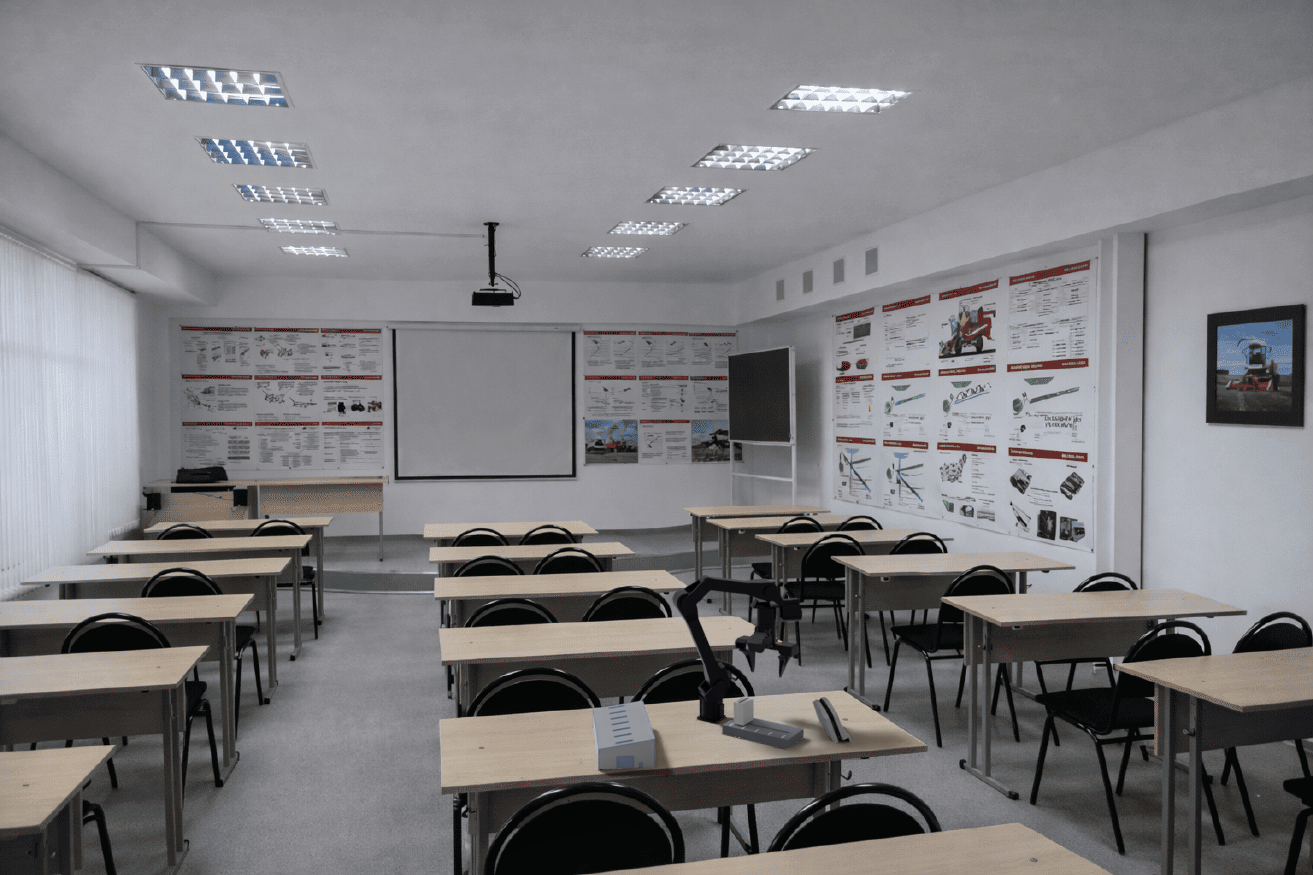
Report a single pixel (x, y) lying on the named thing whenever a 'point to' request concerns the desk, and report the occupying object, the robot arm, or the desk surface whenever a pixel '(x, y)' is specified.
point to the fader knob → (743, 711)
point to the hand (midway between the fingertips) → (766, 674)
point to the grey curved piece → (830, 720)
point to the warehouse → (623, 736)
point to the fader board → (765, 732)
